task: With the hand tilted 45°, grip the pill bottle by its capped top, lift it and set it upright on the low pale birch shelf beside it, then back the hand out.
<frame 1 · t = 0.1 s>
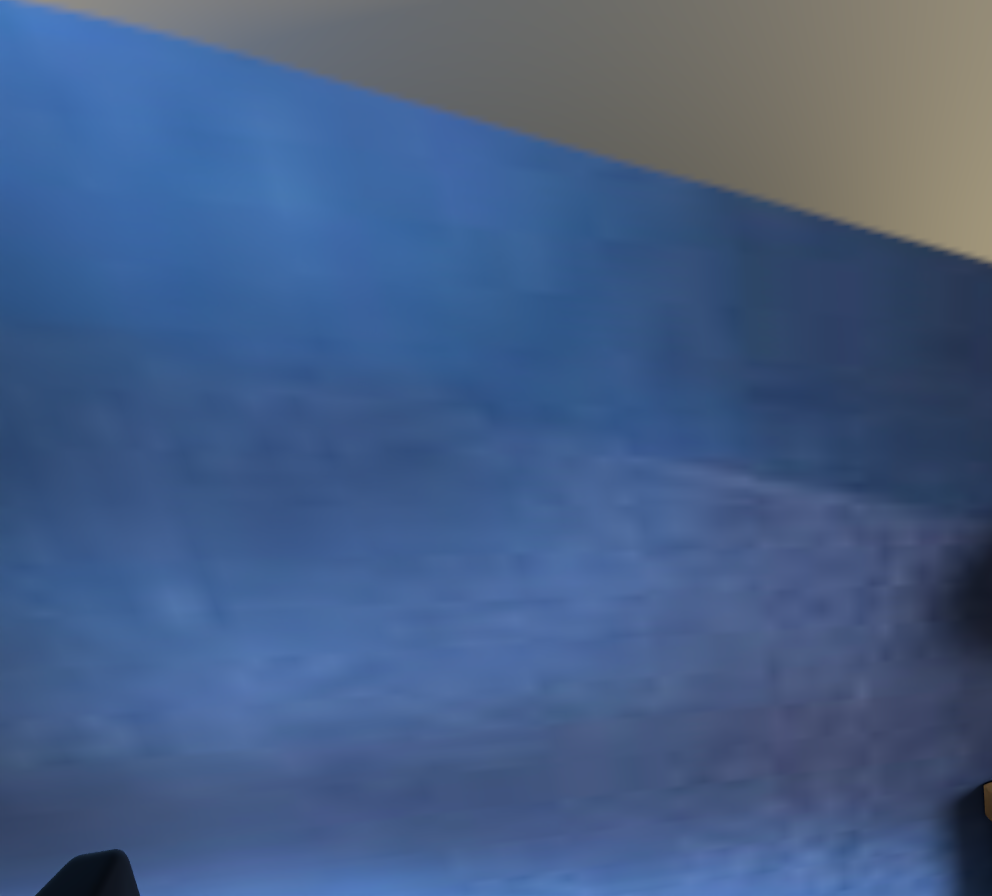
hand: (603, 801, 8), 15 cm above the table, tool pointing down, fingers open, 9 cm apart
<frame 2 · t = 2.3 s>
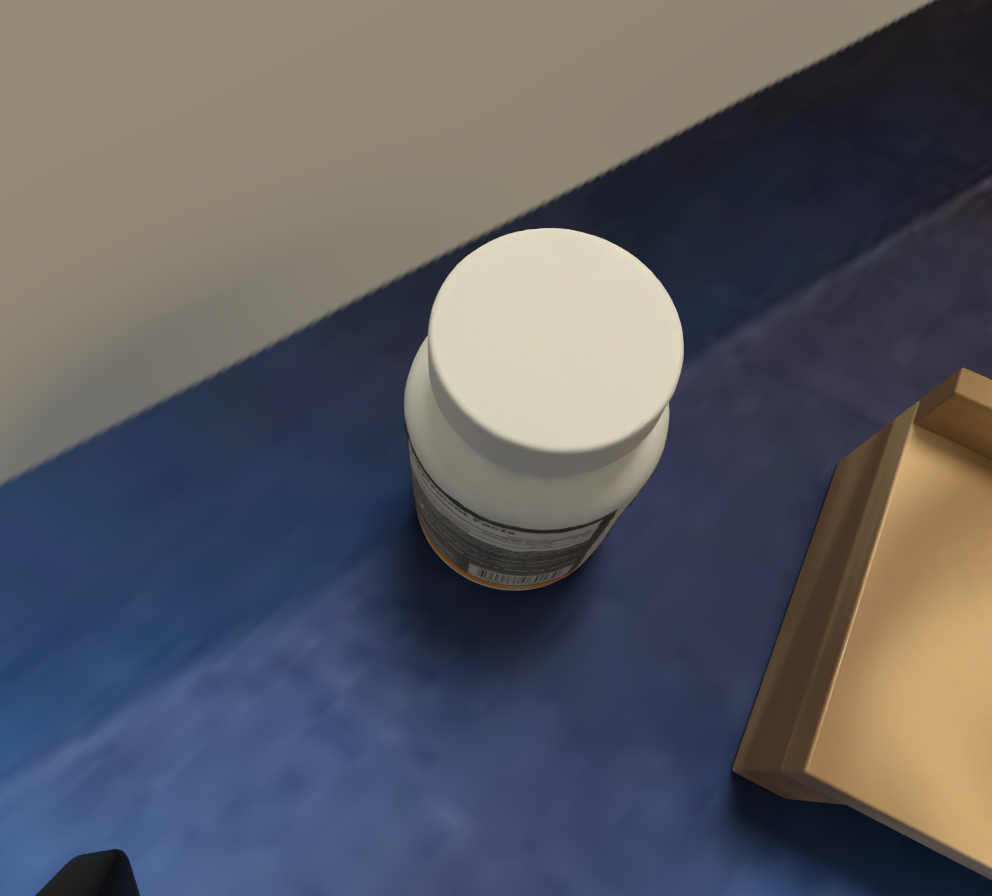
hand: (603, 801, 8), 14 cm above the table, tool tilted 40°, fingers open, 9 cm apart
pill bottle: (510, 504, 23), on the table
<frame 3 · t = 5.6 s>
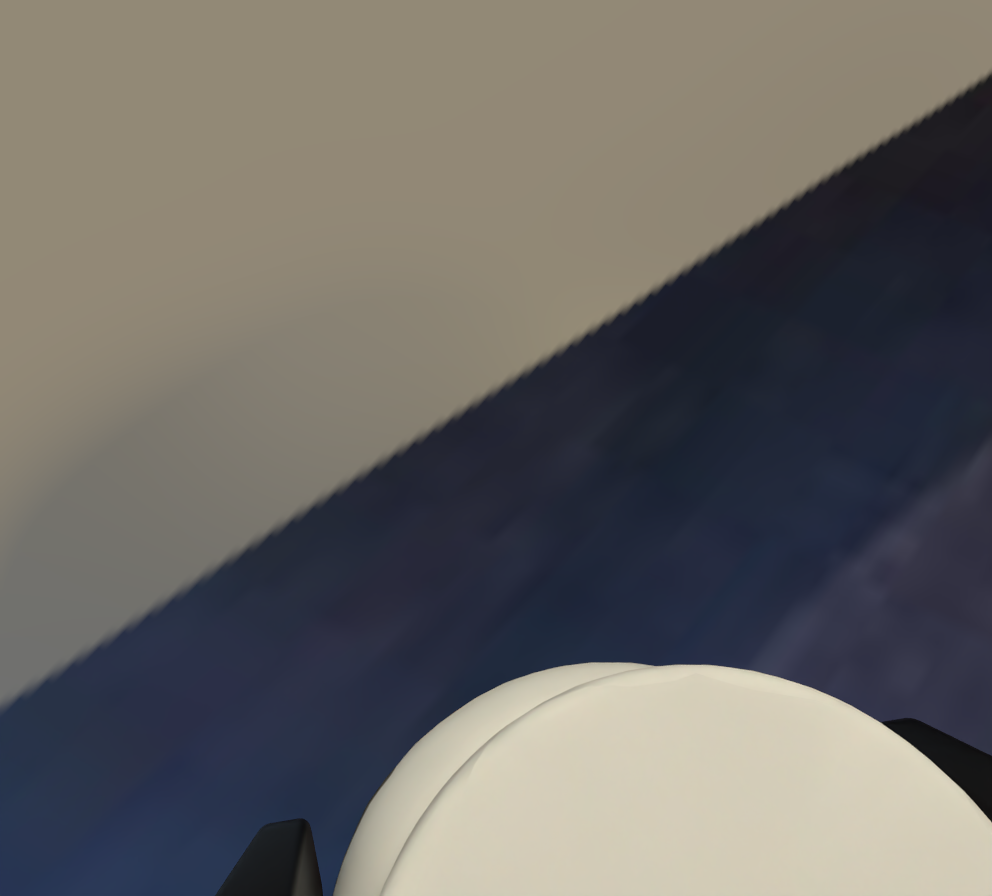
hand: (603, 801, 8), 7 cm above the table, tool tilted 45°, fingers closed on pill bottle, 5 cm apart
pill bottle: (543, 893, 14), on the table, touching gripper
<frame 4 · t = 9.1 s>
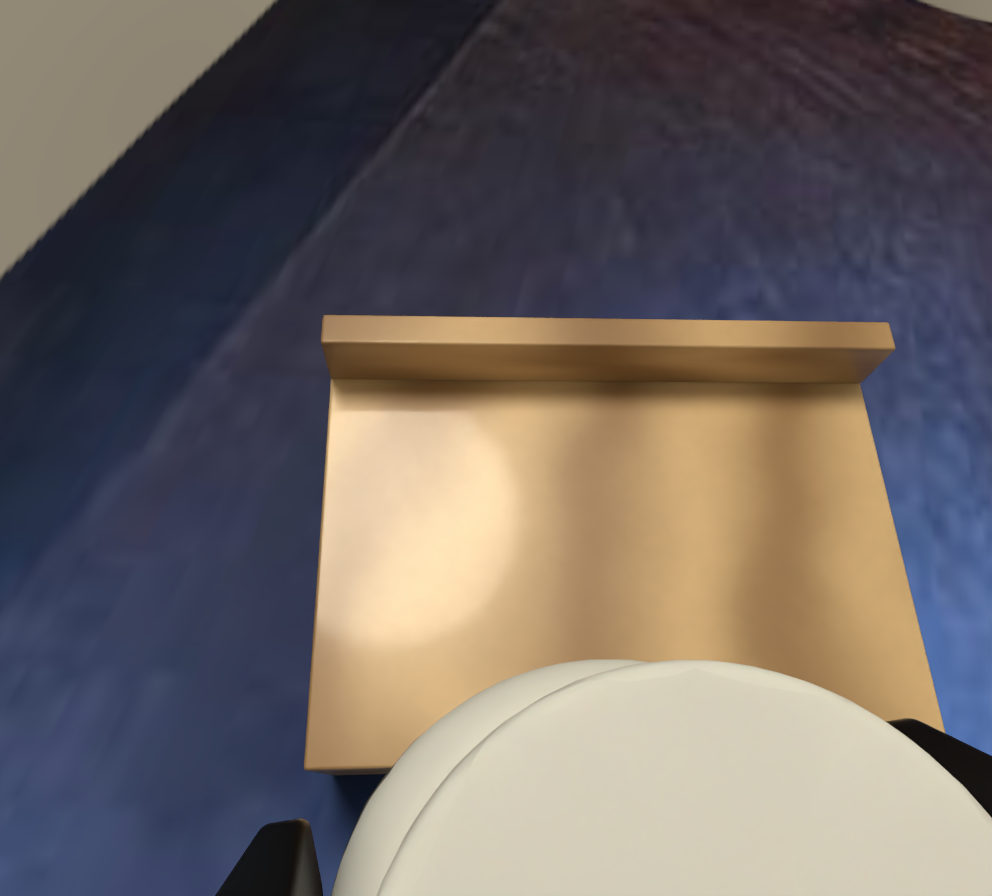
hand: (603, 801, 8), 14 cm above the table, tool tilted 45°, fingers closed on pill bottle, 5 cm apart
shelf: (584, 583, 23), on the table
pill bottle: (542, 891, 14), point 7 cm above the table, touching gripper
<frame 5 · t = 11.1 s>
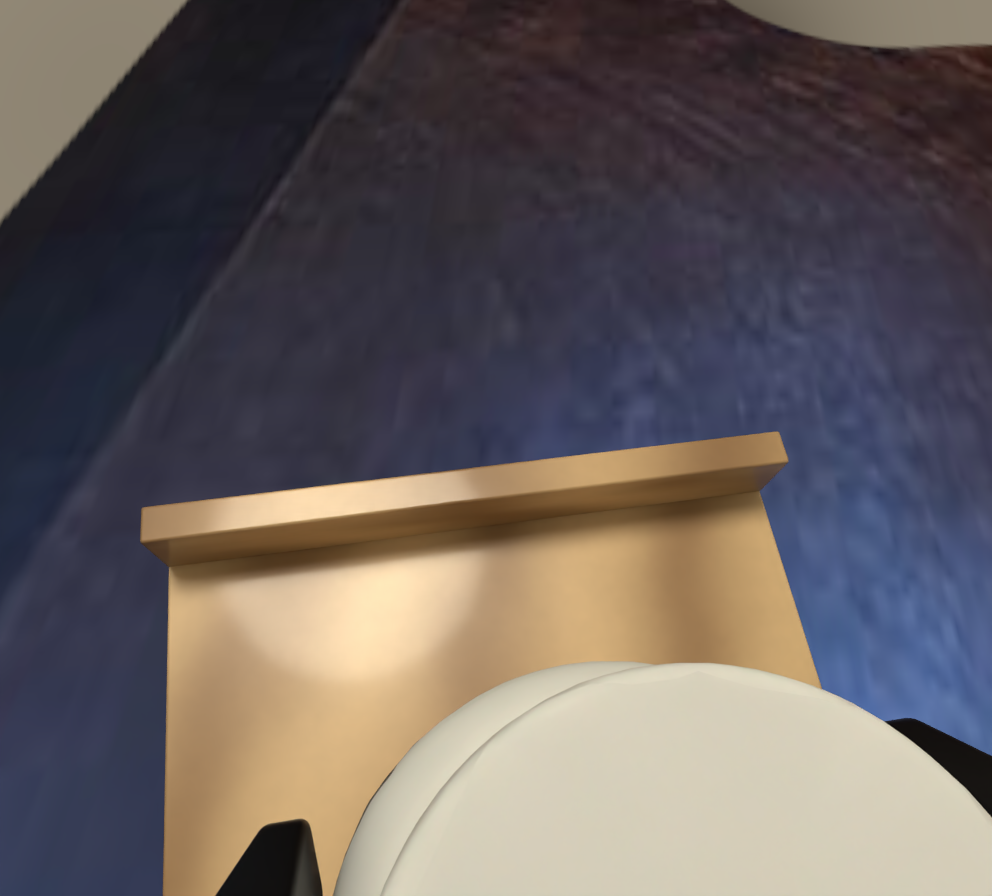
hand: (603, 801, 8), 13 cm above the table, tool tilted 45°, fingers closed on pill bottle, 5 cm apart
shelf: (494, 733, 20), on the table
pill bottle: (543, 893, 14), point 6 cm above the table, touching gripper
when the fingers open (12 cm above the table, at t = 12.7 s): pill bottle stays where it is, resting on shelf.
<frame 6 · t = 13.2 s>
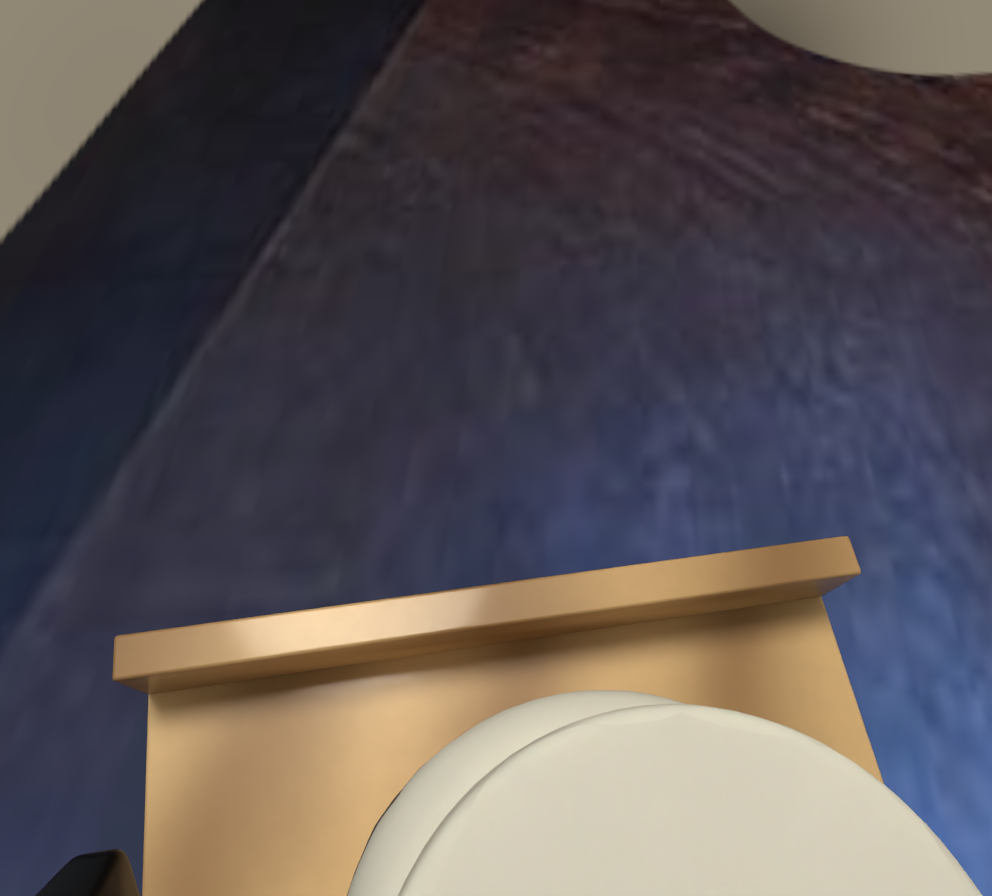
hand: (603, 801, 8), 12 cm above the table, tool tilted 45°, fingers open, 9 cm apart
shelf: (518, 860, 18), on the table
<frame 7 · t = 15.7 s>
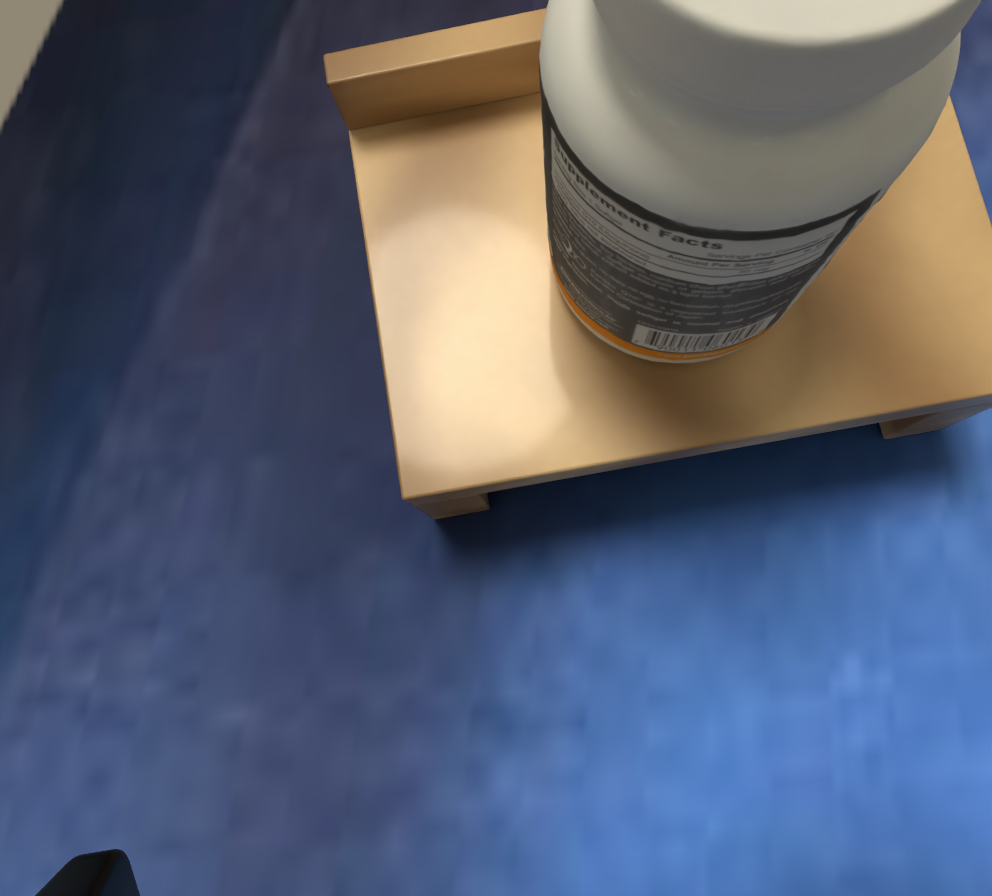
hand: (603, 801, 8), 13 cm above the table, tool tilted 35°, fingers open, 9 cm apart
shelf: (646, 305, 22), on the table
pill bottle: (672, 257, 18), point 4 cm above the table, touching shelf
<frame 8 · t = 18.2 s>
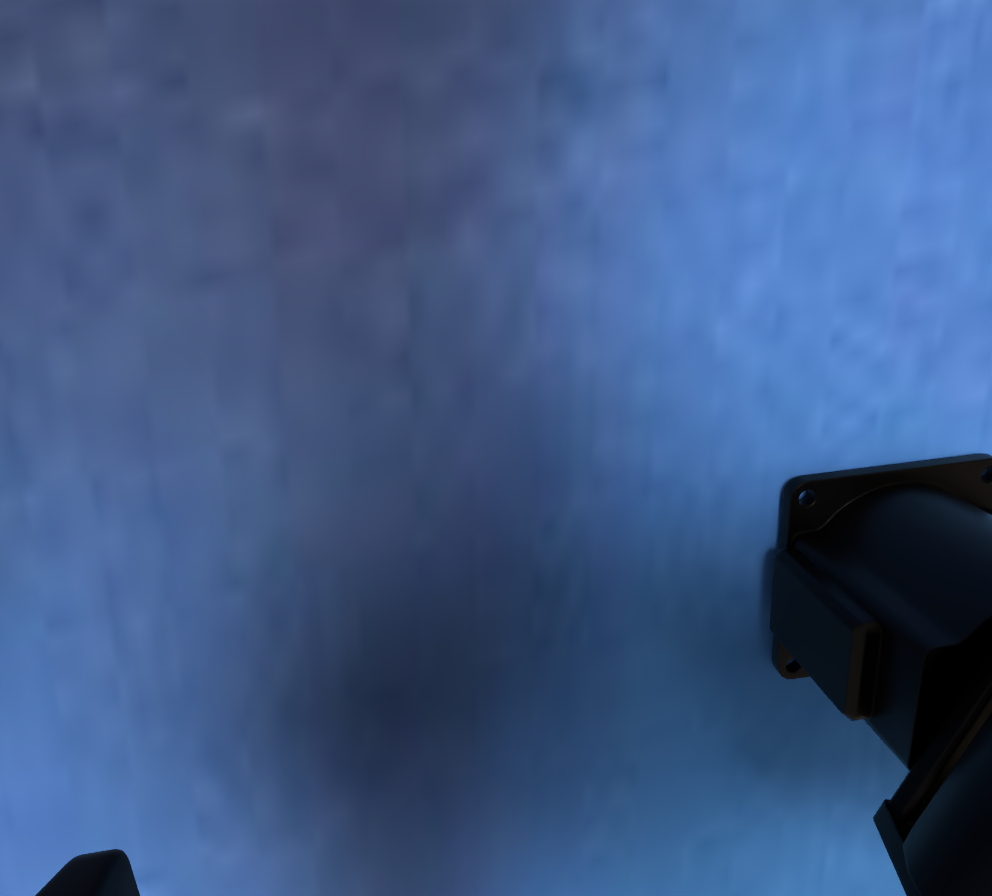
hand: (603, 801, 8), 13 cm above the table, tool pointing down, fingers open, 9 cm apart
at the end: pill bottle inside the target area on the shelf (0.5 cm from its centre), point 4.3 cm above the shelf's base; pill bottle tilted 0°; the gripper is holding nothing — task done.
